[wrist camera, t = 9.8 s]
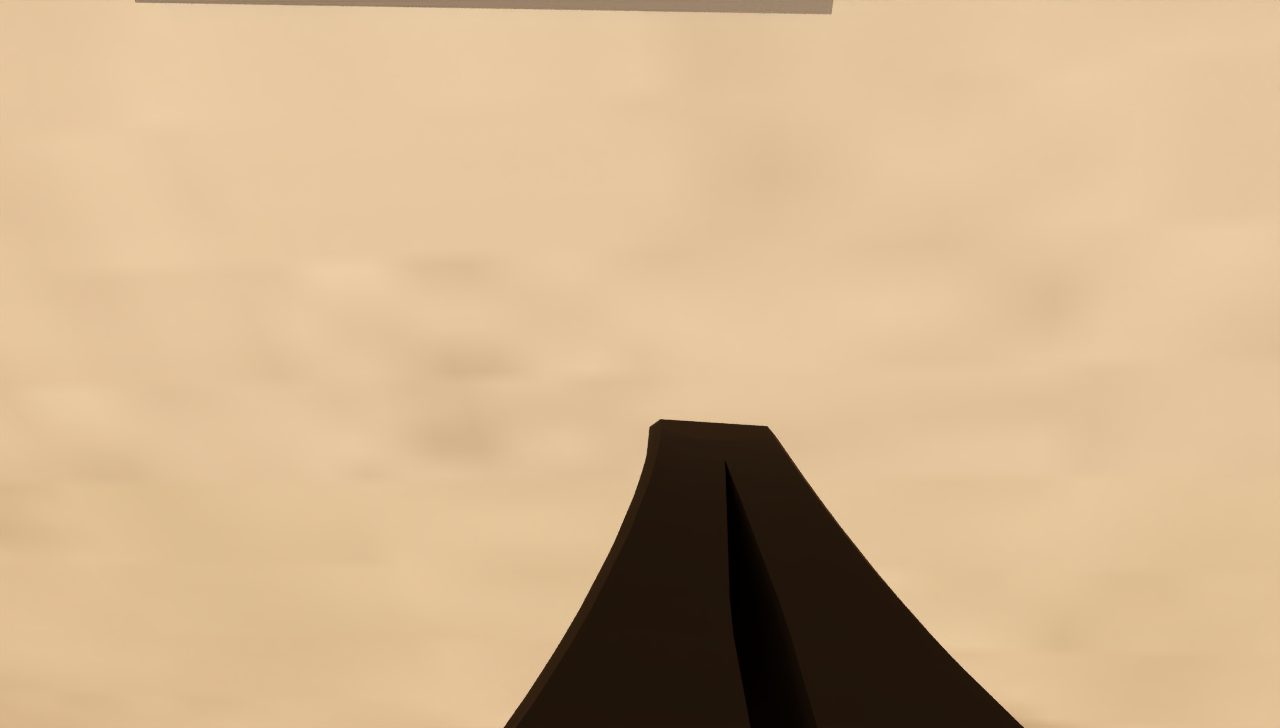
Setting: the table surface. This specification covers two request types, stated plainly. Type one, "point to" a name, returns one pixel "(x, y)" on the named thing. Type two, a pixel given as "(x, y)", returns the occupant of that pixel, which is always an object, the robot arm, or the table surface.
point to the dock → (565, 4)
